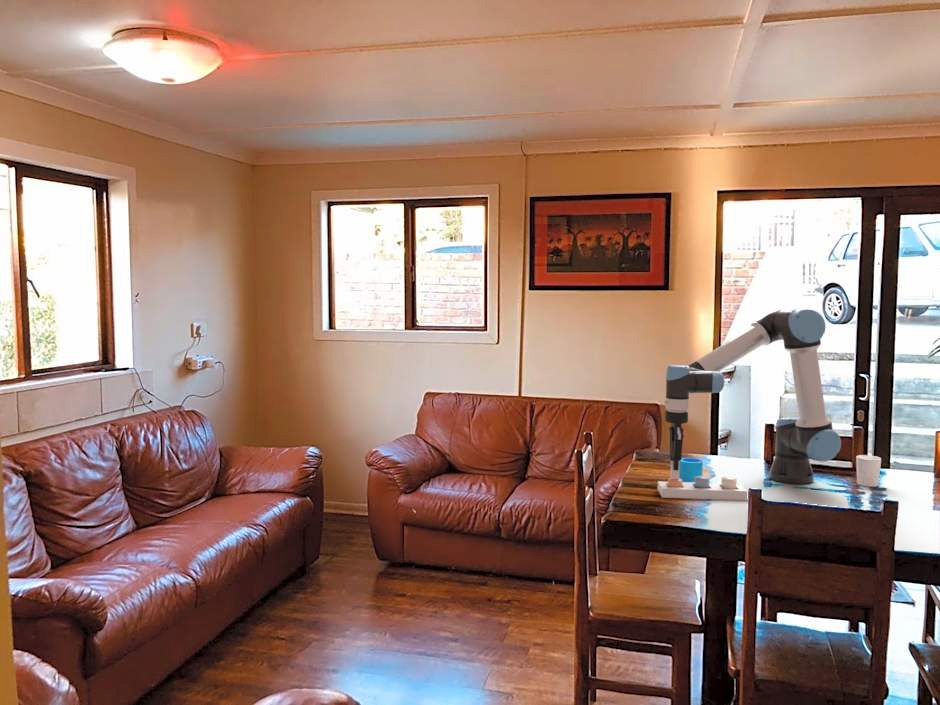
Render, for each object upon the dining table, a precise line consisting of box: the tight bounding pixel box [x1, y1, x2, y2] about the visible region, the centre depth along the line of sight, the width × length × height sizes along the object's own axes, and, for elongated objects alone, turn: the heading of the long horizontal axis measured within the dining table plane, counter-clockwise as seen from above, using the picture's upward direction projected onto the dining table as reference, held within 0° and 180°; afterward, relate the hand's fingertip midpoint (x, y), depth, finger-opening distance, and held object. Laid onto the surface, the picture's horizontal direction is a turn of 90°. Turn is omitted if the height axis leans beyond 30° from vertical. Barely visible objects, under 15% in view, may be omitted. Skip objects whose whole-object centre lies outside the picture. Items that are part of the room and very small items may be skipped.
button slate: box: [694, 475, 710, 488], centre depth 251 cm, size 5×5×4 cm
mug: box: [679, 457, 704, 482], centre depth 270 cm, size 12×8×8 cm
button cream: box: [721, 476, 738, 489], centre depth 250 cm, size 5×5×4 cm
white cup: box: [855, 454, 882, 488], centre depth 265 cm, size 8×8×10 cm
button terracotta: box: [667, 477, 682, 488], centre depth 252 cm, size 5×5×4 cm
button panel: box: [657, 480, 748, 501], centre depth 251 cm, size 28×10×3 cm, turn 84°
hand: (674, 478), depth 251 cm, fingers closed
